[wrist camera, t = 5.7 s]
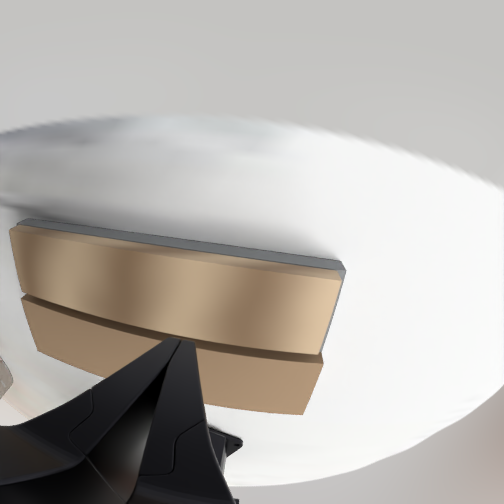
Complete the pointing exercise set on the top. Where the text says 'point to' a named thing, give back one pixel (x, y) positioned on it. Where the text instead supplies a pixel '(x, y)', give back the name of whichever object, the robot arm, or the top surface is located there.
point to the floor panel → (181, 337)
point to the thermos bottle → (4, 378)
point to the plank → (179, 289)
